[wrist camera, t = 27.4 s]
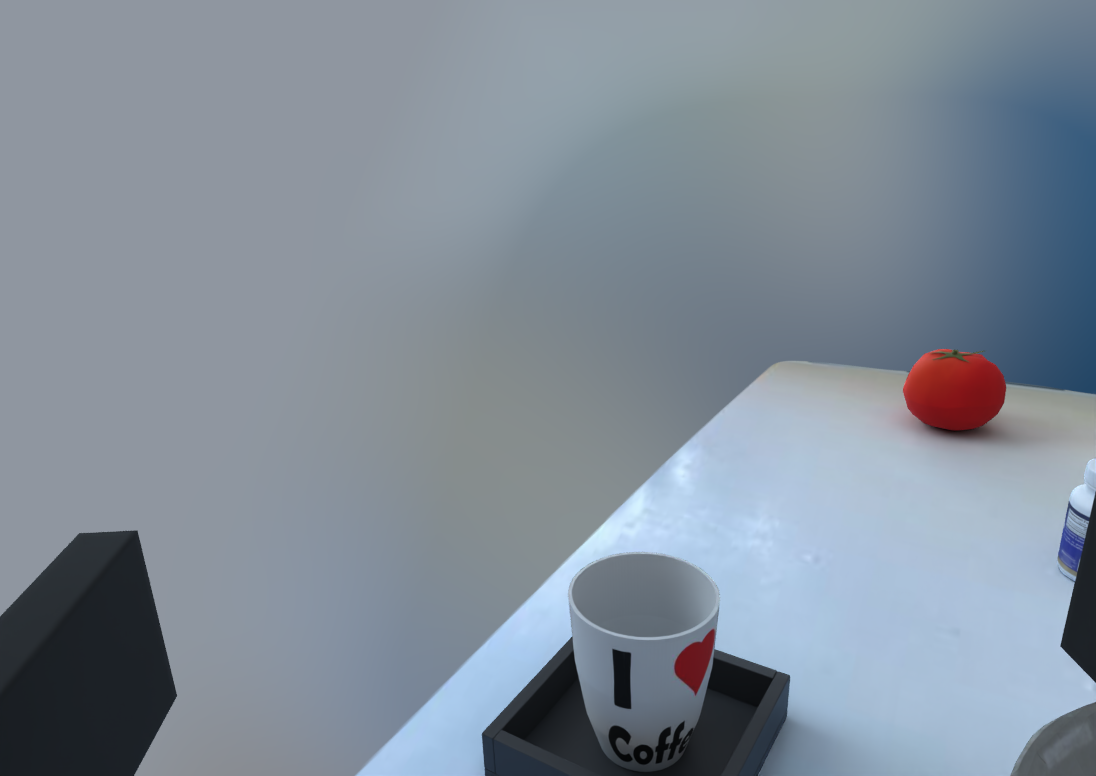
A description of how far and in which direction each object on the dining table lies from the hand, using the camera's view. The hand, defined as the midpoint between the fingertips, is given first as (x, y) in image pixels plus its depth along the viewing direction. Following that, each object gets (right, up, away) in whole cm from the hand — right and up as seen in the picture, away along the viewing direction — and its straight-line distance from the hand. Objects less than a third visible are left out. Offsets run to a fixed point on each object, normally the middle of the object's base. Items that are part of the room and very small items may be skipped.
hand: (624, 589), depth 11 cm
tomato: (+42, -1, +78) cm, 89 cm away
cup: (+4, -18, +36) cm, 41 cm away
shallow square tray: (+4, -18, +37) cm, 41 cm away
